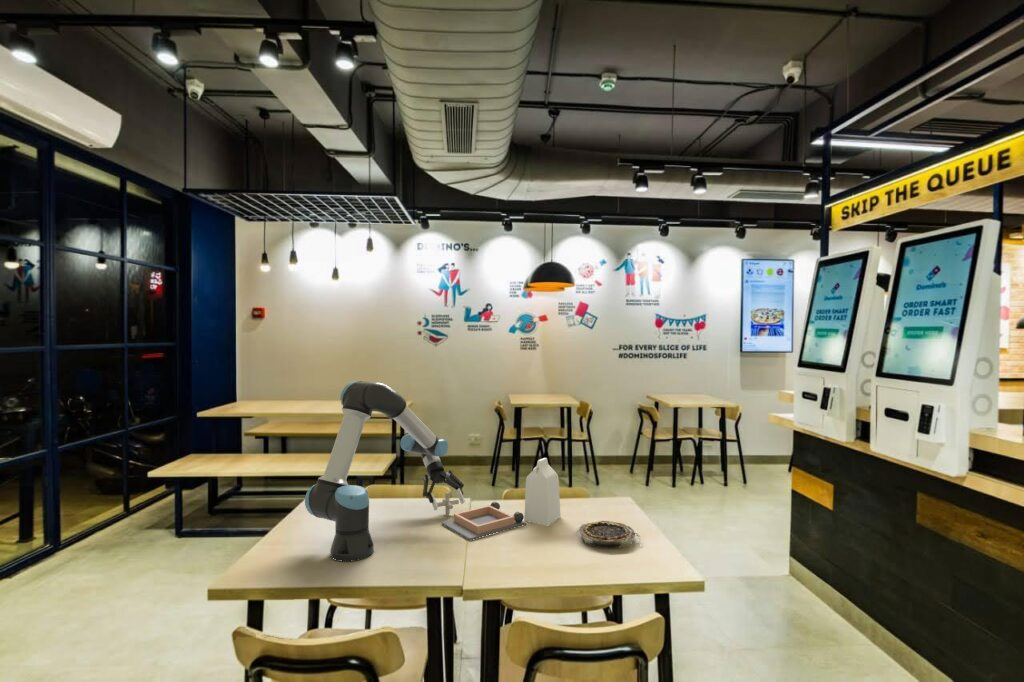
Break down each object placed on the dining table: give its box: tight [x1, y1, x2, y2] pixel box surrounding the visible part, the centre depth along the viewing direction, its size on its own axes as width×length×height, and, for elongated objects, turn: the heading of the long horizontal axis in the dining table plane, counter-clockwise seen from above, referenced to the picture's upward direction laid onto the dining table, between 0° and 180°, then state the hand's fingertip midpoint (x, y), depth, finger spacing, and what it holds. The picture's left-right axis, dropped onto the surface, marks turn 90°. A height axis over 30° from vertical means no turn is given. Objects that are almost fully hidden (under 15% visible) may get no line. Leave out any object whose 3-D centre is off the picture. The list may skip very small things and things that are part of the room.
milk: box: [523, 457, 562, 527], centre depth 219 cm, size 12×12×26 cm
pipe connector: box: [437, 491, 460, 516], centre depth 225 cm, size 10×10×10 cm
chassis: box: [441, 501, 527, 541], centre depth 212 cm, size 28×22×5 cm
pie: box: [578, 520, 643, 549], centre depth 197 cm, size 28×27×5 cm
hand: (450, 505), depth 223 cm, fingers open, 13 cm apart
